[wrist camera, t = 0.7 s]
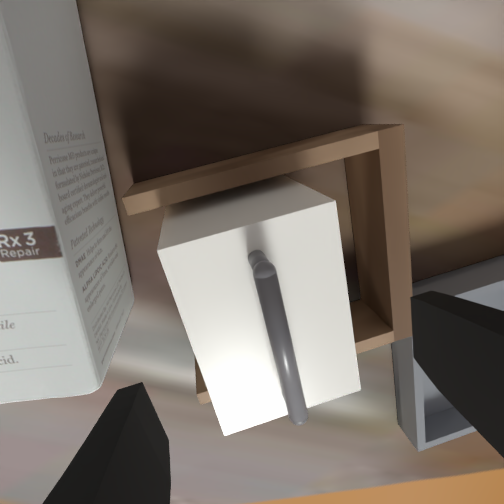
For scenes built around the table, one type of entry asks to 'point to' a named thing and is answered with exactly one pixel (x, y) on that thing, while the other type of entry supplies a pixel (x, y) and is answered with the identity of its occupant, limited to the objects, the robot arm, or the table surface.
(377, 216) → the walnut bay
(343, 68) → the table surface
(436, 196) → the table surface
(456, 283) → the slate drawer housing
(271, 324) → the white drawer with handle
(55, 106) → the skincare box
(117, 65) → the table surface
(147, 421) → the robot arm
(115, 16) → the table surface
